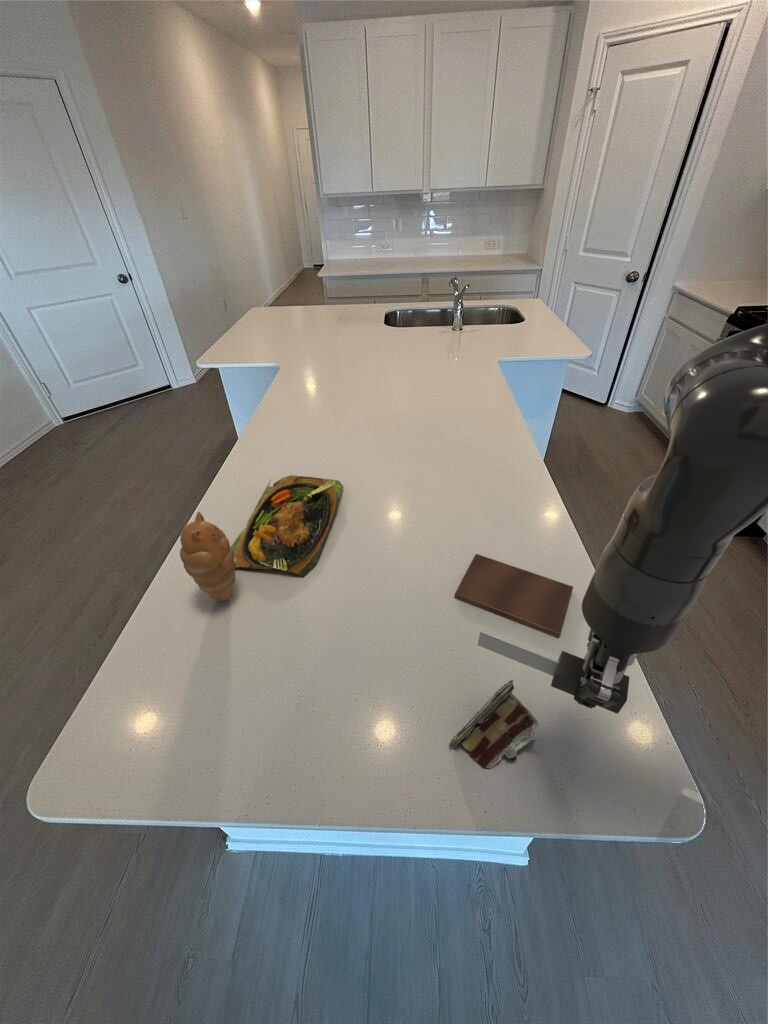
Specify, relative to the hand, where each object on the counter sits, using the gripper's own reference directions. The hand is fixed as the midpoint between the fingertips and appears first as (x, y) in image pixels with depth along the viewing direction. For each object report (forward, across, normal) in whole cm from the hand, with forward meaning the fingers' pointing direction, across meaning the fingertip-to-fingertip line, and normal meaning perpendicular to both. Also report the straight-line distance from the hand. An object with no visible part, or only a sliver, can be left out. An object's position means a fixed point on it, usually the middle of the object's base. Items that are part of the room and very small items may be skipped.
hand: (586, 687), depth 49 cm
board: (+15, +22, +12) cm, 29 cm away
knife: (0, 0, +5) cm, 5 cm away
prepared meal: (+15, +20, +59) cm, 64 cm away
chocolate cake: (+15, -3, +7) cm, 17 cm away
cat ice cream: (+15, -1, +58) cm, 60 cm away
